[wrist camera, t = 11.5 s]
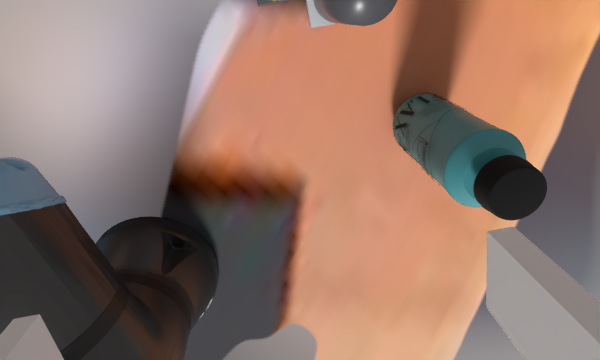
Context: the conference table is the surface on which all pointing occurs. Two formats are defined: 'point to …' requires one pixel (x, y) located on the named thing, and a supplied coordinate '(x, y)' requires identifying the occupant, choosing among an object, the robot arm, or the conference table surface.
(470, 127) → the beverage bottle
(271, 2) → the bay
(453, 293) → the conference table surface
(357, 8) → the open tray with handle
